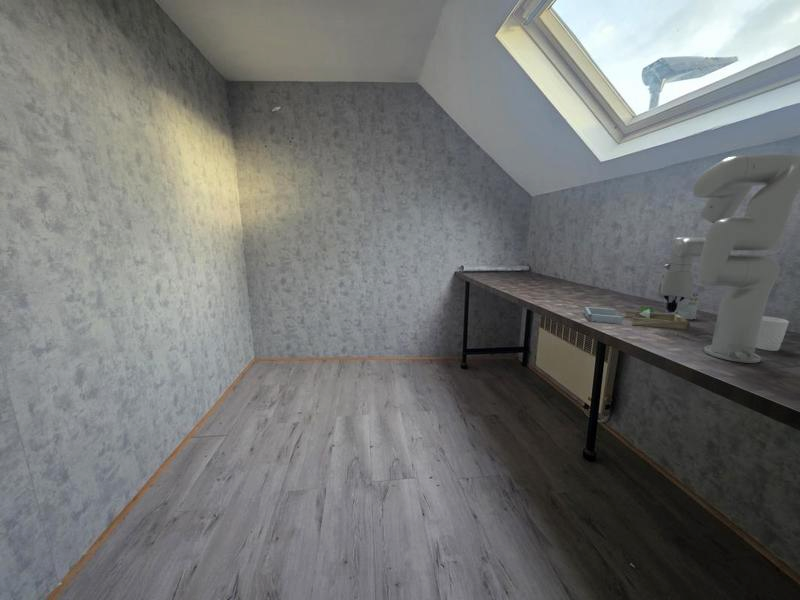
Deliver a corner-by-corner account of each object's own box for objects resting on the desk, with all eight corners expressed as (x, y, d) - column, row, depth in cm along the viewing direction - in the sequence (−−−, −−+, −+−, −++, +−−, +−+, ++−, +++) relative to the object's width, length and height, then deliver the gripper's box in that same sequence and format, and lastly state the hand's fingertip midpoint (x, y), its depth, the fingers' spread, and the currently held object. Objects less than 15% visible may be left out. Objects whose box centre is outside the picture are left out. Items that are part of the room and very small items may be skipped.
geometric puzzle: (632, 313, 145) (638, 302, 140) (650, 314, 143) (657, 303, 137) (635, 326, 141) (641, 314, 135) (654, 327, 139) (661, 316, 133)
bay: (621, 324, 137) (622, 317, 136) (588, 320, 142) (588, 314, 141) (614, 315, 151) (615, 309, 150) (584, 312, 156) (584, 306, 155)
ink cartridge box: (687, 316, 148) (693, 285, 145) (696, 320, 142) (702, 287, 139) (663, 315, 150) (668, 285, 147) (670, 319, 144) (676, 287, 141)
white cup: (760, 351, 106) (767, 321, 104) (740, 342, 114) (746, 315, 112) (789, 352, 105) (796, 322, 103) (766, 344, 112) (773, 316, 110)
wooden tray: (688, 330, 128) (690, 322, 128) (632, 324, 136) (633, 317, 135) (675, 320, 141) (676, 314, 141) (624, 316, 149) (625, 310, 148)
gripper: (659, 268, 131) (651, 311, 136) (706, 270, 125) (697, 315, 130) (654, 266, 138) (646, 307, 142) (698, 267, 132) (689, 310, 136)
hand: (670, 311), depth 136 cm, fingers closed
